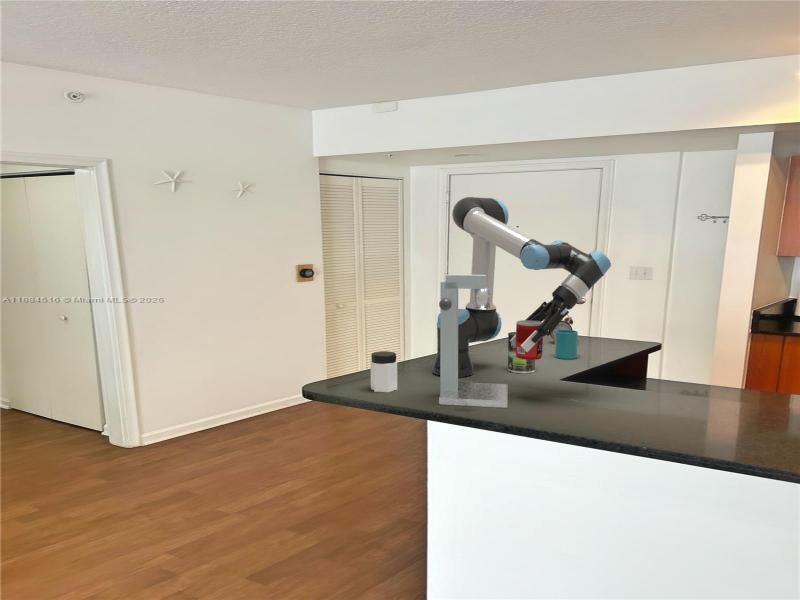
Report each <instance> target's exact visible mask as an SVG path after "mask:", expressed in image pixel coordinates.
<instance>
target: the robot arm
mask: <svg viewBox="0 0 800 600" xmlns="http://www.w3.org/2000/svg"><path fill="white" fill-rule="evenodd" d="M452 220H453V222H454V224H455V225H456V226H457V227H458V228H459V229H461V230H463V231H464V232H465V233H468V234H469V236H471V238H472V239H473V241H472V258H471V271H470V272H471V274H470V275H486V288H490V308H487V309H478V308H474V289H469V290H470V294H469V296H470V297H469V302H468V303H467V304H465V308H458V378H466V377H465V376H467V377H470V376H469V375H471V376H473V375H474V365H473V362H472V359H471V356H470V355H471V354H470V351H469V350H470V344H471V343H477V342H478V343H479V342H487V341H489V340H493V339H495V338H496V337H497V336H498V335H499V333H500V332H501V330H502V318H501V317H500V314H499V313H498V311H497V306H496V305H495V304H494V302H493V301H494V283H495V269H496V252H497V247H498V248H500V249H501V250H503V251H505V252H507V253H508V254H510V255H512V256H513V257H515V258H517V259H519V260H520V262H521V264H522V265H523V266H524V267H525V269H527V270H533V271H540V270H550V269H552V270H555V269H557V270H558V269H562V270H565V271H567V272H568V273H570V274H568V276H566V277H565V279H564V280H563V281H562V282H561V284H560V285H558V286H557V287H556V289H554V290H553V291H552V293H551V296H552V300H550V301H548V302H546V300H545V301H544V300H543V302H542V303H541V304H540V305H539V307H537V309H535V310H534V311H533V312H532V313H531V314H530V315H528V317H526V319H525V320H533V321H540V322H543V323H542V324H541V326H540V327H539V328H536V329H537V330H538V331H537V330H535V331H534V332H533V333H532V334H531V335H530V336H529V337H528V338H527V339H526V341H525V342H524V343H523V344H522V345H521V347H522V348H523V349H524V350H525V351H526V352H528V351H529V350H530V349H531V348H532V347H533V346H534V345H535V344H536V343H537V342H538V341H539V340H540V339H541V338H542V336H543V337H545V336H547V337H549V336H550V334H551V333H552V331H553V330H554V329H555V328H556V326H557V325H558V324H559V323H560V322H561V320H562V319H563V320H564V319H565V318H566V316H567V314H568V315H569V313H570V311H569V310H572V309H573V308H575V306H576V304H578V303H579V300H581V299H583V297H586V294H587V293H588V292H589V291H590V290H591V289H592V287H594V285H595V284H597V282H598V281H600V279H602V278H603V277H604V276H605V274H606V273H607V272H608V271H609V269H611V267H612V266H611V265H612V263H611V260H610V258H609V257H608V256H607V255H606V254H604V253H603V251H600V250H595V249H594V250H591V252H589V253H586V252H584V251H582V250H580V249H578V248H576V247H575V246H573V245H572V244H570V243H568V242H565V241H563V240H560V239H556V240H554V241H552V242H551V243H550V244H544V243H541V242H540V241H537V240H536V239H534V238H532V237H531V236H528V235H527V234H525V233H523V232H521V231H520V230H517V229H515V228H514V227H511V226H510V225H508V222H509V211H508V208H507V206H506V205H505V203H504V202H502V200H499V199H497V198H493V197H492V198H491V197H473V196H467V197H463V198H460V199H459V200H458V201H457V202H456V203H455V205H454V206H453V209H452ZM436 329H437V331H436V334H437V336H436V337H437V339H436V342H437V344H436V345H437V346H436V347H437V353H436V355H435V359H434V362H433V365H432V374H433V373H434V374H433V375H435V374H436V375H435V376H437V375H440V313H438V316H437V321H436ZM510 341H511V342H512V343H513V344H514V345H515V346H516V335H515V336H514V337H513V338H512V339H511V340H510ZM472 374H473V375H472Z"/></svg>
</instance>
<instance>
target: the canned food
mask: <svg viewBox="0 0 800 600" xmlns="http://www.w3.org/2000/svg"><path fill="white" fill-rule="evenodd" d="M542 323H543V321H542V322H540V321H533V320H526V319H524V320H518V321H516V323H515V324H516V326H515V327H516V328H515V330H516V331H515V332H516V357H517V358H520V359H525V360H535V361H536V360H541V359H542V356H543V346H544V345H543V344H544V343H543V342H544V336H542V338H541V339H540V340H539V341H538V342H537V343H536V344H535V345H534V346H533V347H532V348H531V349H530V350H529V351H528V352H526V351H525V350H524V349H523V348H522V347H521V345H522V344H523V343H524V342H525V341H526V339H527V338H528V337H529V336H530V335H531V334H532V333H533V332H534V331H535V330H537V329H536V328H539V327H540V326H541V324H542ZM537 331H538V330H537Z"/></svg>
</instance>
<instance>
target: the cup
mask: <svg viewBox="0 0 800 600" xmlns="http://www.w3.org/2000/svg"><path fill="white" fill-rule="evenodd" d="M578 336H579V332H578V330H573V329H572V330H556V331H555V343H554V357H555V358H556V359H560V360H575V359H577V358H578V346H579V338H578Z"/></svg>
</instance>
